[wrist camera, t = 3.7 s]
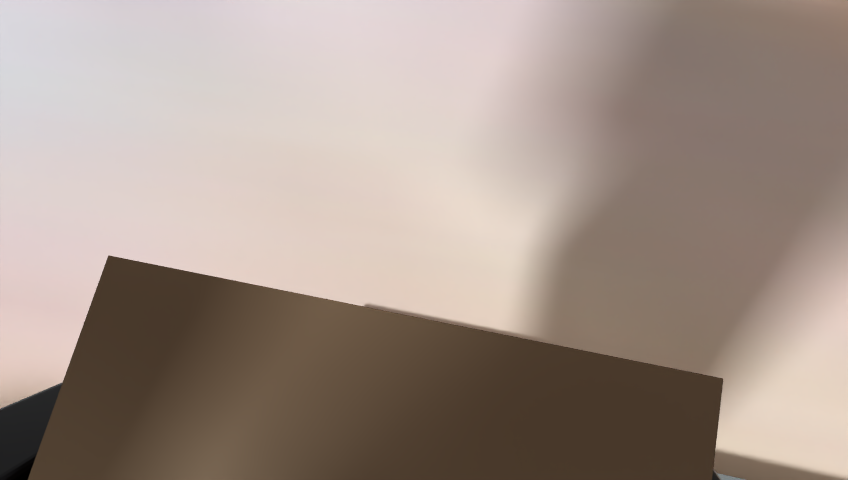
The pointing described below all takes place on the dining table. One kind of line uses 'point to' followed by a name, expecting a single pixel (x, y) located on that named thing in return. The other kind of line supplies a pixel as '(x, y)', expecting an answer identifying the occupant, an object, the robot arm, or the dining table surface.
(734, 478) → the coaster
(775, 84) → the dining table surface
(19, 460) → the robot arm
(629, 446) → the block
